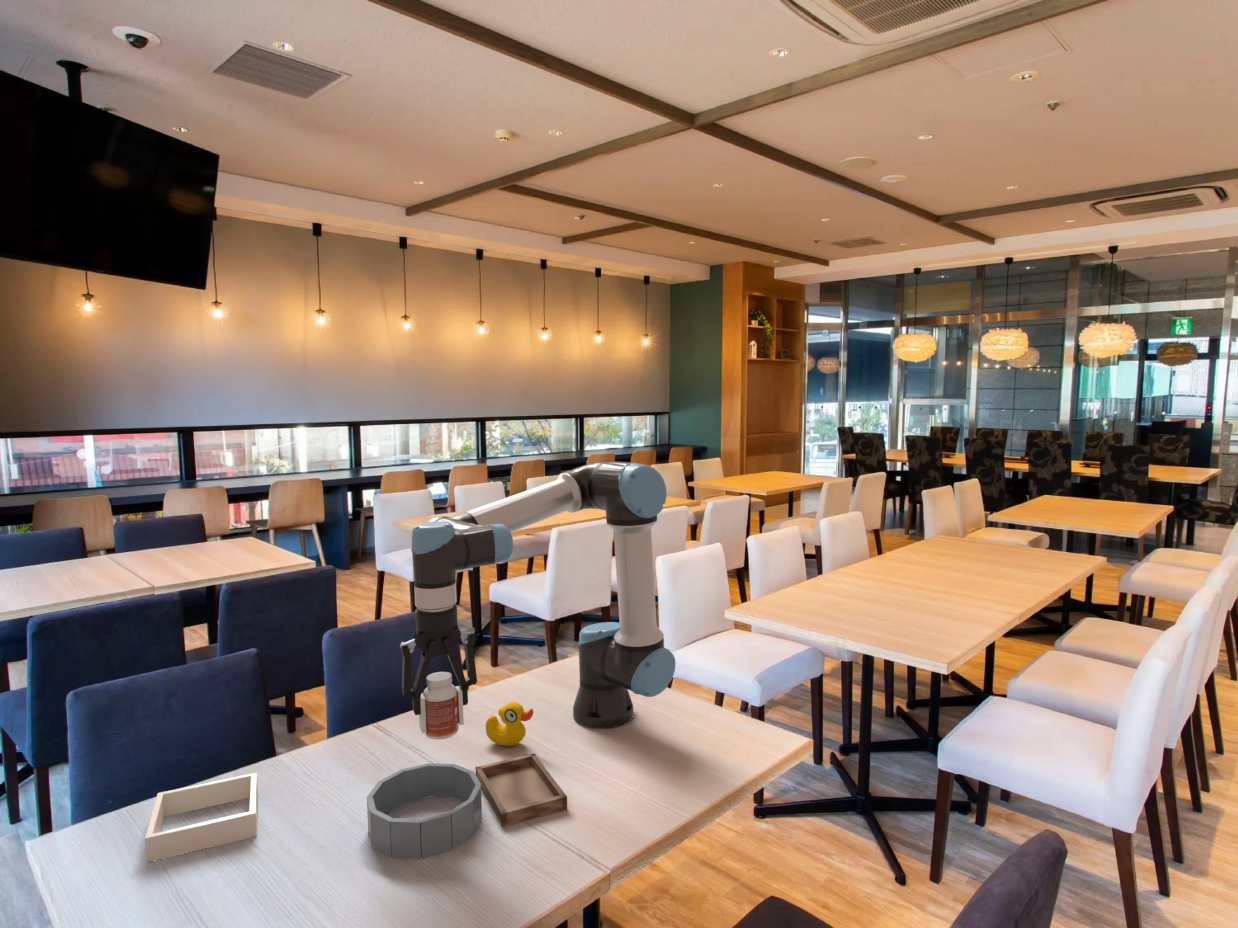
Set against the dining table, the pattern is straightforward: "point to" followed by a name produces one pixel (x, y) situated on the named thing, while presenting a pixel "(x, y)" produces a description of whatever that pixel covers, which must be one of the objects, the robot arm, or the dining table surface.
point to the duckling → (508, 724)
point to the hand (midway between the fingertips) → (441, 725)
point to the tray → (520, 789)
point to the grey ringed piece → (432, 831)
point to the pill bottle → (440, 706)
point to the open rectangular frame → (204, 832)
